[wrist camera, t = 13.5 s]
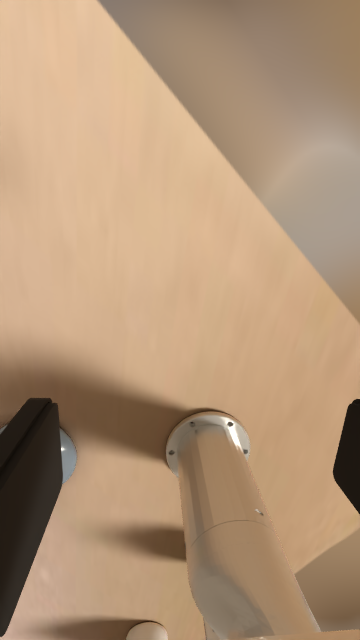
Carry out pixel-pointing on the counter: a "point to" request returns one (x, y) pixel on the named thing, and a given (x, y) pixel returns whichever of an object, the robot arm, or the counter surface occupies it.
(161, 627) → the milk bottle
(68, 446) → the dish
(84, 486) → the counter surface
